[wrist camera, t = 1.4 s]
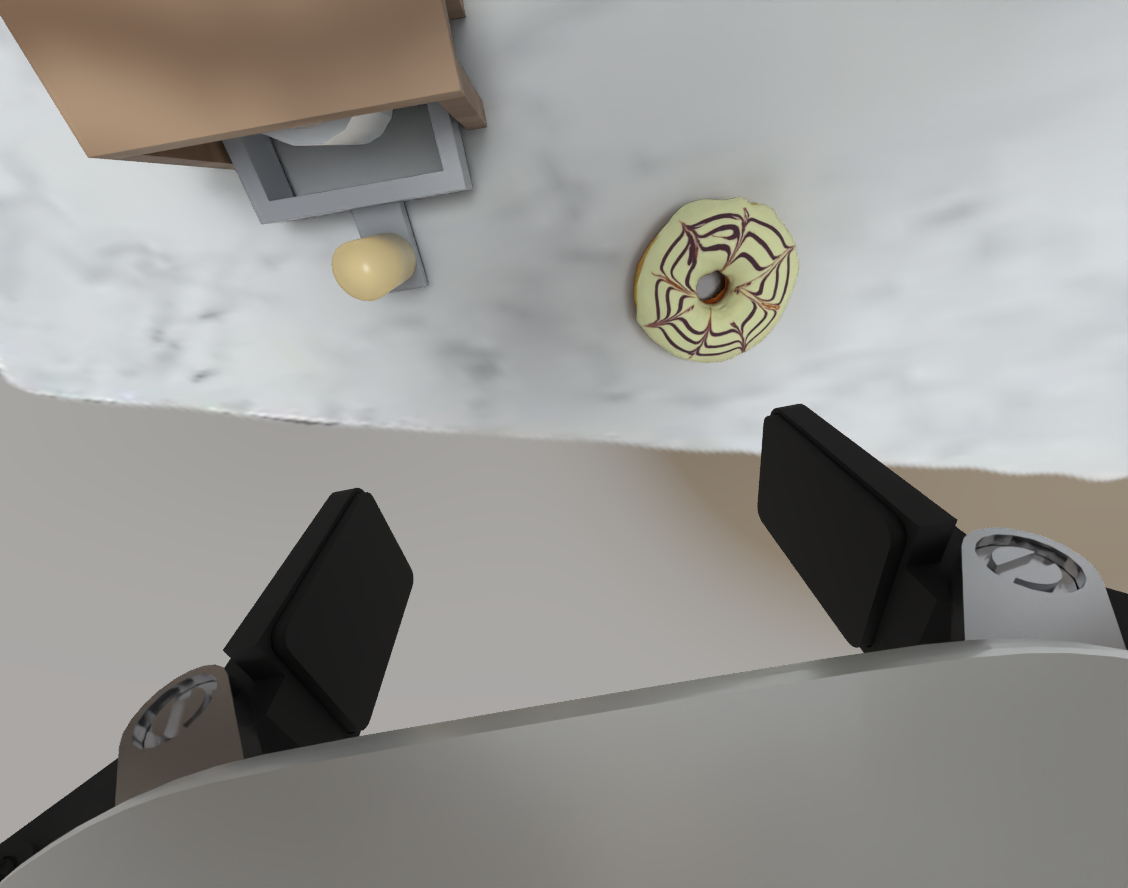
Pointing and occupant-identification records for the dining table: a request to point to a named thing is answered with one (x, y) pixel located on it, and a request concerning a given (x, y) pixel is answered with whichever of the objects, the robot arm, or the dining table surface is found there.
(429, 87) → the tunnel
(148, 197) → the dining table surface
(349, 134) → the white cylinder
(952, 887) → the robot arm
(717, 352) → the decorated donut
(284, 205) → the slider
